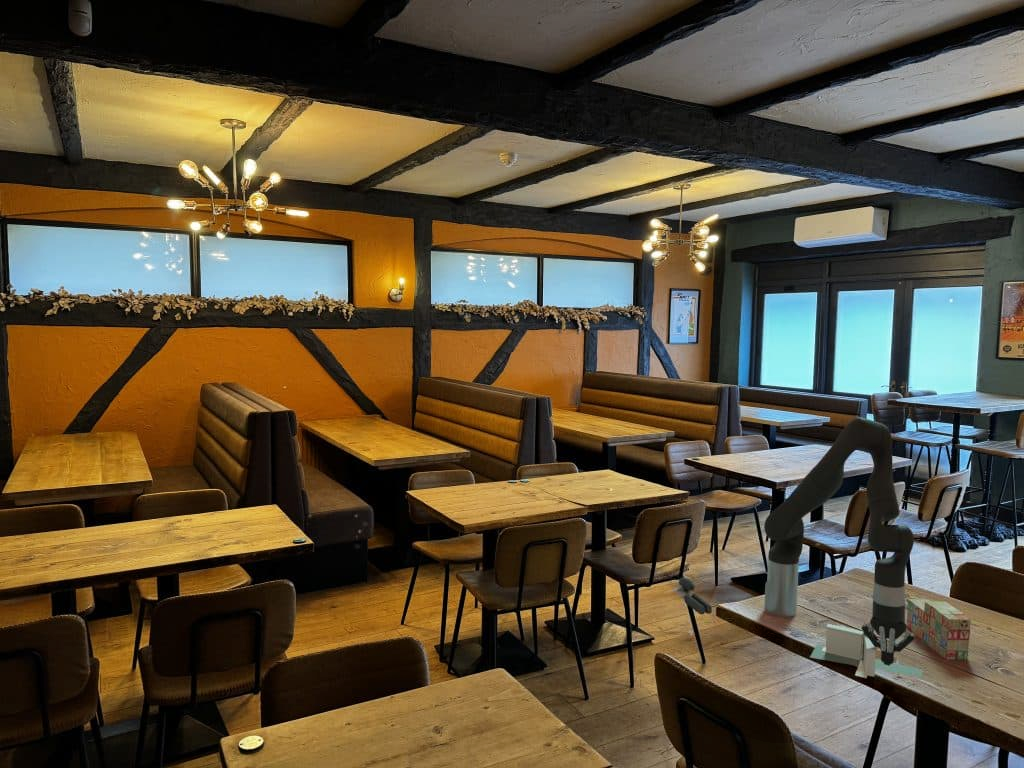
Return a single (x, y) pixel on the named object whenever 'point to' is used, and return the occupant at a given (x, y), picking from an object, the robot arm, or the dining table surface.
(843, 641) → the panel
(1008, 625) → the dining table surface
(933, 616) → the stack of blocks
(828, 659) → the board
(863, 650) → the brown rounded rod
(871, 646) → the panel
